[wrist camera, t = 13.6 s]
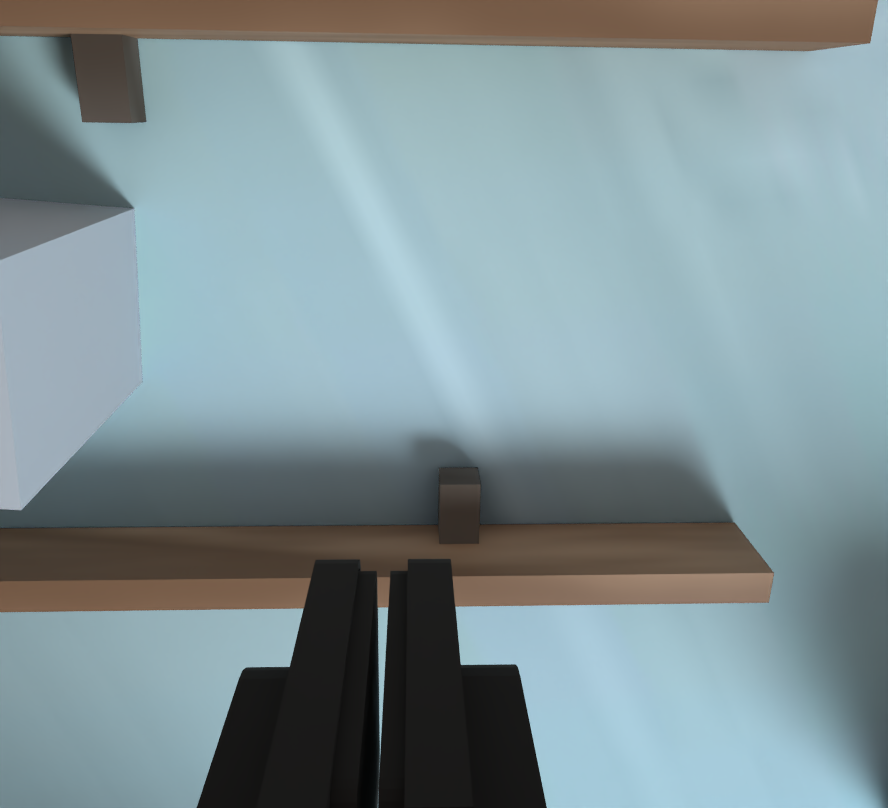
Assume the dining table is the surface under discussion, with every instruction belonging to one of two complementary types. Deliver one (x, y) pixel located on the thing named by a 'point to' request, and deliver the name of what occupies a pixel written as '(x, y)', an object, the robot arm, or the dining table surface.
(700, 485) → the dining table surface
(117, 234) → the block
